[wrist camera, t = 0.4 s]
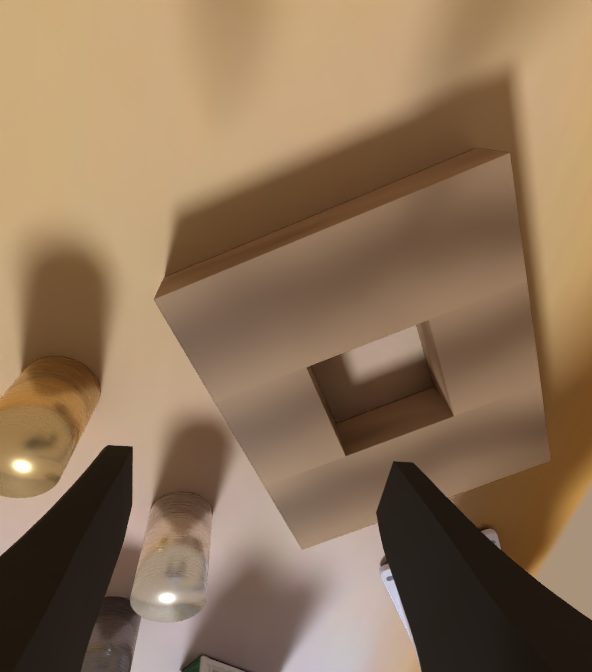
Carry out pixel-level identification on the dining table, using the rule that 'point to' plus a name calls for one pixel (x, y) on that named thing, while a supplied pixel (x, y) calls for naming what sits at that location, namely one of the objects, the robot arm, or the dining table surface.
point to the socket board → (367, 326)
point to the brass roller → (43, 423)
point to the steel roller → (174, 559)
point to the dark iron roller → (112, 637)
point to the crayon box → (209, 666)
